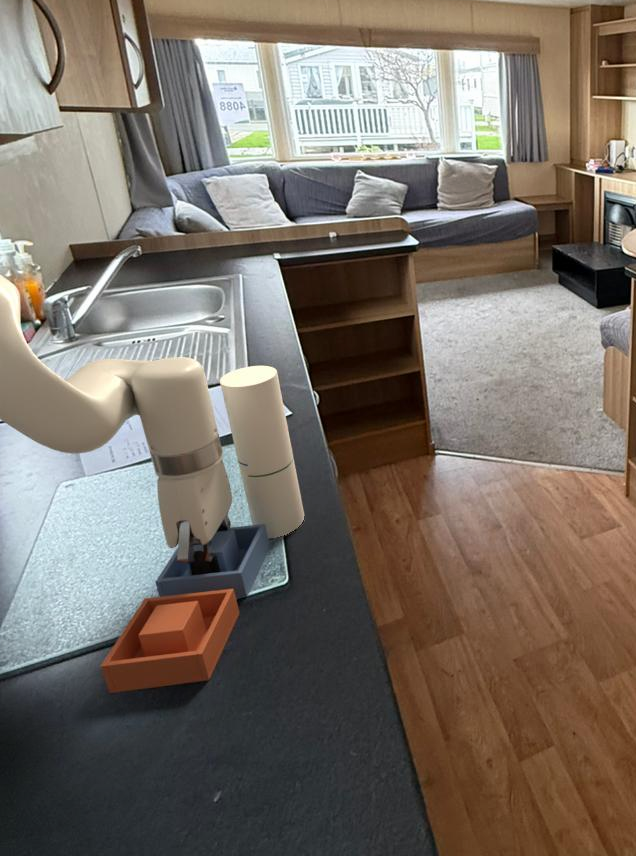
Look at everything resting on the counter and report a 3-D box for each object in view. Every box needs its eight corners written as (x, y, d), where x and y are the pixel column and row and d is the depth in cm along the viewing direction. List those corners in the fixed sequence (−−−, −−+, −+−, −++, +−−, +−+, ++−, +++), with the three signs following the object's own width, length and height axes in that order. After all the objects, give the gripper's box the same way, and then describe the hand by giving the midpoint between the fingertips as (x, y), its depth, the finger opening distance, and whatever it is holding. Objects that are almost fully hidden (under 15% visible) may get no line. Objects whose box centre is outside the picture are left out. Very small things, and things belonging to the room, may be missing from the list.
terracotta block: (147, 665, 75) (137, 635, 73) (165, 634, 79) (156, 605, 77) (191, 660, 75) (182, 630, 74) (206, 629, 80) (198, 600, 78)
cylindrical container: (283, 504, 104) (254, 362, 95) (315, 517, 101) (288, 371, 92) (243, 530, 98) (208, 380, 89) (275, 544, 95) (242, 390, 86)
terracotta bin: (109, 693, 72) (100, 666, 70) (152, 623, 81) (144, 598, 80) (209, 680, 74) (201, 653, 72) (239, 613, 83) (233, 588, 81)
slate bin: (162, 606, 84) (155, 582, 82) (194, 554, 93) (188, 531, 92) (247, 597, 85) (241, 572, 84) (269, 546, 95) (265, 523, 93)
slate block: (191, 583, 86) (184, 555, 85) (205, 560, 91) (198, 533, 89) (229, 579, 87) (222, 551, 86) (240, 556, 91) (234, 529, 90)
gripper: (183, 423, 89) (210, 532, 96) (121, 494, 74) (158, 618, 80) (241, 419, 91) (264, 527, 97) (192, 488, 75) (223, 611, 82)
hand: (215, 567), depth 89 cm, fingers closed on slate block, 4 cm apart
